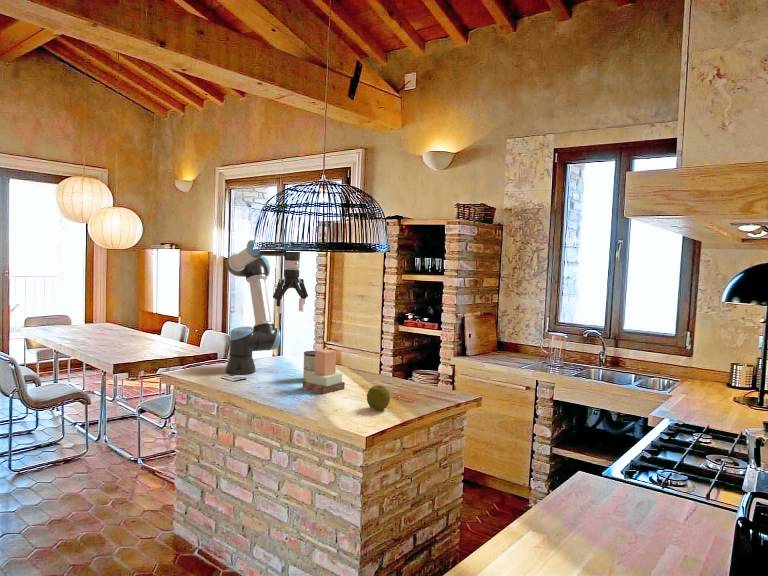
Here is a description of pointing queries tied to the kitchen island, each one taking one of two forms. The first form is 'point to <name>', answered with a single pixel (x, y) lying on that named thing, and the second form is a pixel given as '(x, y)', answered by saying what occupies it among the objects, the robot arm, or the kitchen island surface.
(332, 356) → the terracotta block
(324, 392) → the walnut block
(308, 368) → the coffee can
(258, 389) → the kitchen island surface
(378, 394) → the apple
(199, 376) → the kitchen island surface
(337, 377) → the sage block
